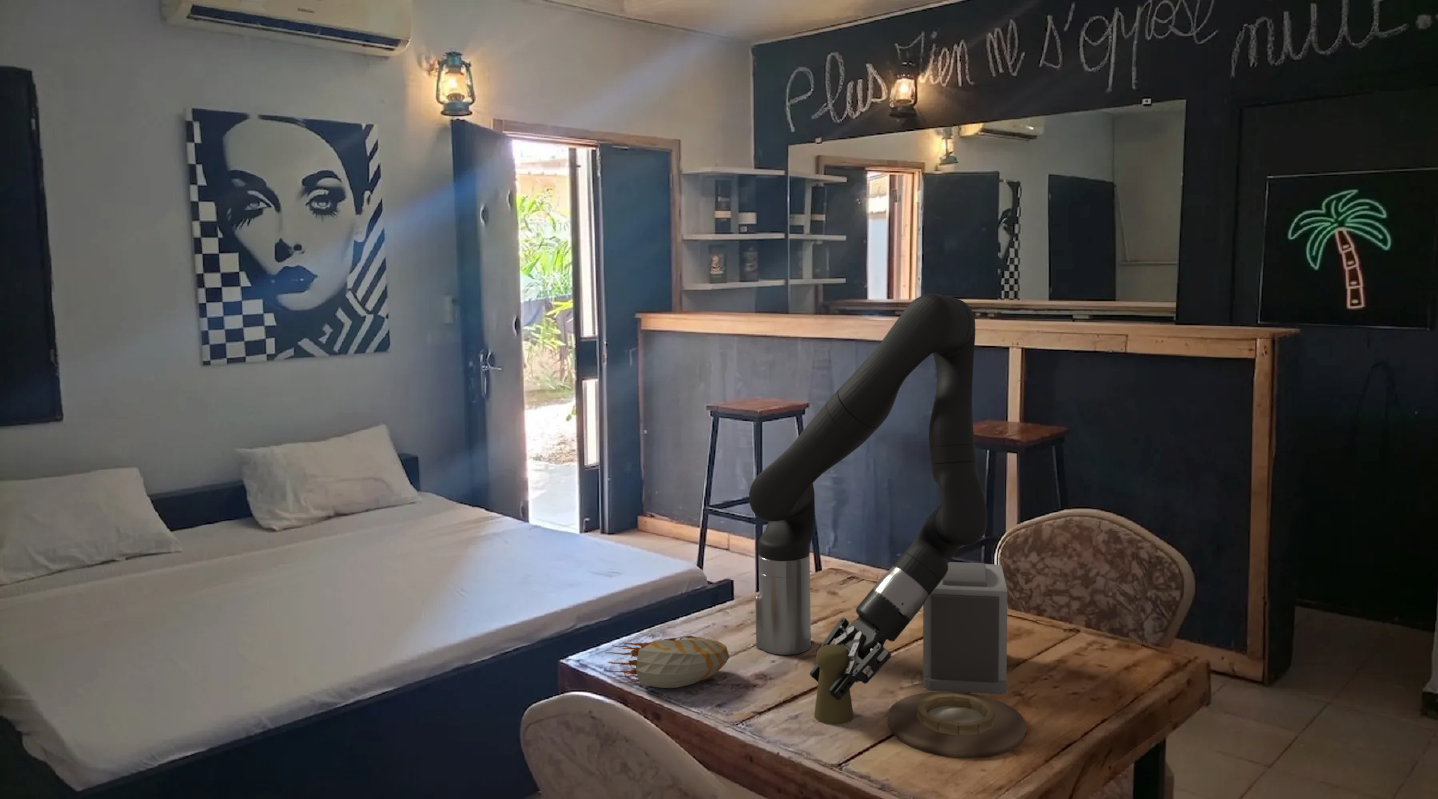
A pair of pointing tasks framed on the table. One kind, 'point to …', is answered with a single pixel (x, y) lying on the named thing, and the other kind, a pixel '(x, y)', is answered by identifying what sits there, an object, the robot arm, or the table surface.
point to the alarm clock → (966, 631)
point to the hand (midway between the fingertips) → (823, 687)
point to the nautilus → (675, 661)
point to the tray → (956, 724)
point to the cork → (831, 667)
